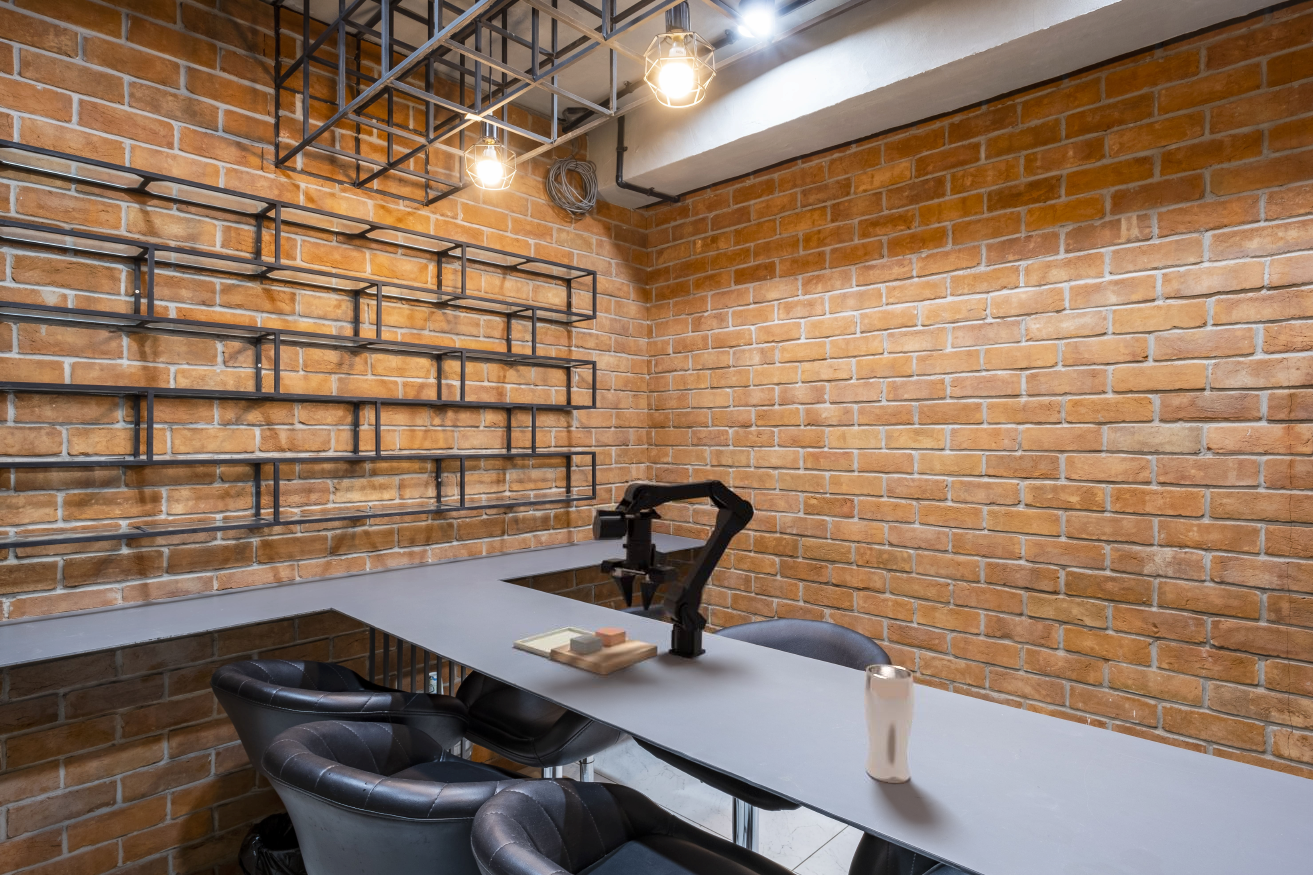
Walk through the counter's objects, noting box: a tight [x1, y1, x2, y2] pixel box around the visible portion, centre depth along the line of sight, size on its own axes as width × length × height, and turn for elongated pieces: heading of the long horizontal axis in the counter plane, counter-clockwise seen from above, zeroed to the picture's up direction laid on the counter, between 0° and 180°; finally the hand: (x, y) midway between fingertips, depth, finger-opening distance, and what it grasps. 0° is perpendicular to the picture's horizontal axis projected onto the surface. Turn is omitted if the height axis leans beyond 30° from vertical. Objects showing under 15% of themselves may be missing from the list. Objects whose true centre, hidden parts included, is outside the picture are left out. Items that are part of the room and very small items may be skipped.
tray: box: [513, 626, 595, 659], centre depth 159 cm, size 12×18×1 cm, turn 142°
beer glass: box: [863, 664, 915, 784], centre depth 99 cm, size 7×7×15 cm
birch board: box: [550, 637, 658, 676], centre depth 150 cm, size 16×18×2 cm
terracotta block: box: [594, 627, 627, 646], centre depth 155 cm, size 5×5×2 cm
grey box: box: [570, 634, 602, 655], centre depth 148 cm, size 5×5×2 cm
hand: (637, 608), depth 150 cm, fingers open, 5 cm apart
